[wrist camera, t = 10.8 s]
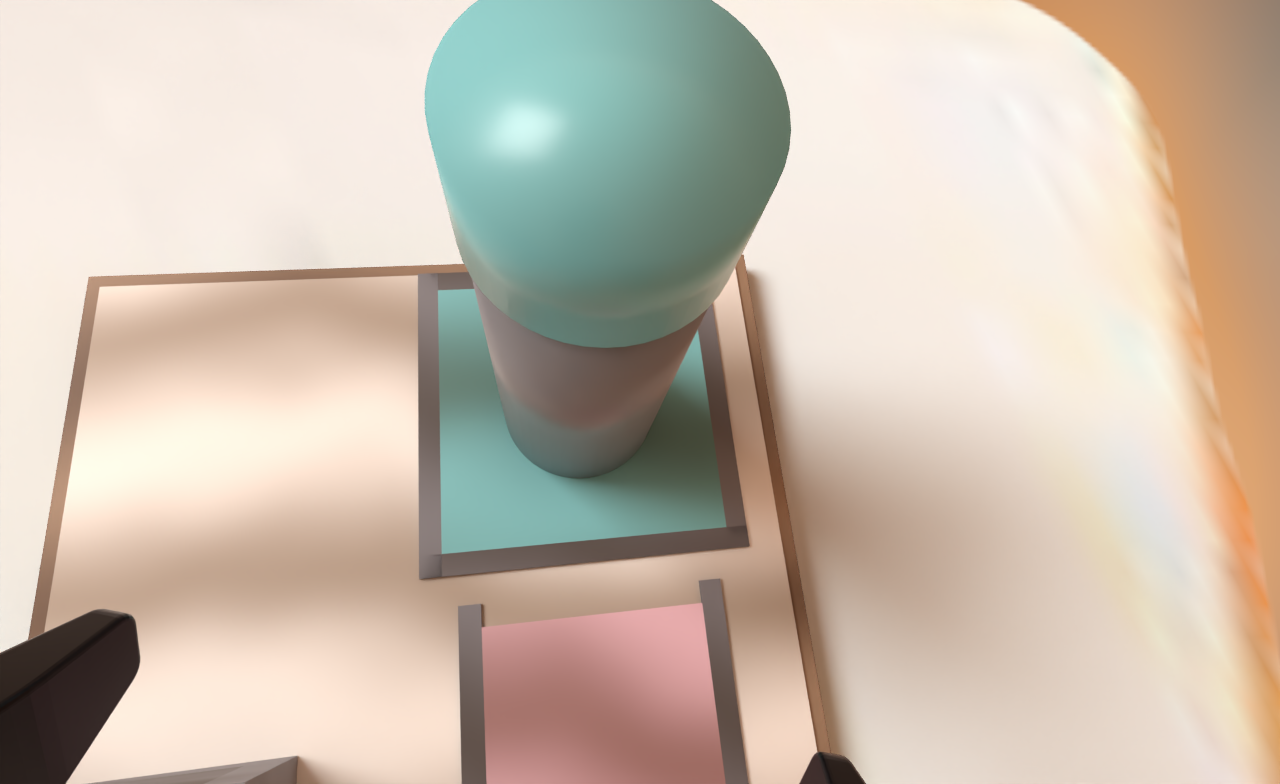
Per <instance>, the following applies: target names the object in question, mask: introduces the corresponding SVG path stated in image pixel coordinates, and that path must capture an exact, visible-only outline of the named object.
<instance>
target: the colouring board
mask: <svg viewBox="0 0 1280 784" xmlns="http://www.w3.org/2000/svg"><path fill="white" fill-rule="evenodd" d="M96 609H109V610H114V611H119V612H124V613H128V614H131V615H132V616H133V617H134V619H135V621H136V626H137V634H138V642H139V650H140V666H139V669H138V672H137V674H136V677H135V678H134V680H133V682H132V683H131V685H130V686H129V688H128V689H127V691H126V693H125V694H124V696H123V697H122V699H121V700H120V702H119V703H118V705H117V706H116V708H115V709H114V711H113V712H112V714H111V715H110V717H109V719H108V720H107V722H106V723H105V725H104V726H103V728H102V729H101V731H100V732H99V734H98V735H97V737H96V738H95V740H94V741H93V743H92V745H91V746H90V748H89V749H88V751H87V752H86V754H85V755H84V757H83V758H82V760H81V761H80V763H79V764H78V766H77V767H76V769H75V771H74V772H73V774H72V775H71V777H70V778H69V780H68V781H67V783H66V784H799V783H800V781H801V779H802V777H803V775H804V773H805V771H806V769H807V767H808V765H809V763H810V761H811V759H812V757H813V755H814V754H815V753H817V752H827V753H831V752H830V746H829V740H828V735H827V729H826V723H825V717H824V712H823V706H822V700H821V695H820V689H819V683H818V677H817V672H816V666H815V660H814V655H813V649H812V643H811V637H810V632H809V626H808V620H807V615H806V609H805V603H804V597H803V592H802V586H801V580H800V575H799V569H798V563H797V557H796V552H795V546H794V540H793V535H792V529H791V523H790V517H789V512H788V506H787V500H786V495H785V489H784V483H783V477H782V472H781V466H780V460H779V455H778V449H777V443H776V437H775V432H774V426H773V420H772V415H771V409H770V403H769V397H768V392H767V386H766V380H765V375H764V369H763V363H762V358H761V352H760V346H759V340H758V335H757V329H756V323H755V318H754V312H753V306H752V300H751V295H750V289H749V283H748V278H747V272H746V266H745V260H744V255H741V257H740V259H739V261H738V263H737V265H736V267H735V268H734V270H733V272H732V274H731V276H730V278H729V280H728V282H727V284H726V285H725V287H724V288H723V290H722V292H721V293H720V295H719V296H718V297H717V298H716V299H715V301H714V302H713V303H712V304H711V305H710V306H709V308H708V309H707V311H706V313H705V316H704V318H703V320H702V322H701V324H700V326H699V328H698V330H697V332H696V334H695V336H694V338H693V340H692V342H691V344H690V347H689V349H688V351H687V353H686V355H685V357H684V359H683V361H682V363H681V365H680V367H679V369H678V371H677V373H676V376H675V378H674V380H673V382H672V384H671V386H670V388H669V390H668V392H667V394H666V396H665V398H664V400H663V402H662V404H661V407H660V409H659V411H658V413H657V415H656V417H655V419H654V421H653V423H652V425H651V427H650V429H649V431H648V433H647V435H646V438H645V440H644V441H643V443H642V445H641V446H640V448H639V449H638V450H637V452H636V453H635V454H634V455H633V456H632V457H631V458H630V459H629V460H628V461H627V462H626V463H624V464H623V465H621V466H620V467H618V468H616V469H614V470H613V471H611V472H608V473H606V474H603V475H600V476H595V477H591V478H568V477H562V476H558V475H555V474H552V473H549V472H547V471H545V470H543V469H541V468H539V467H538V466H536V465H535V464H533V463H532V462H531V461H530V460H528V459H527V458H526V457H525V456H524V455H523V454H522V453H521V451H520V450H519V449H518V448H517V446H516V445H515V443H514V442H513V440H512V438H511V436H510V433H509V431H508V428H507V425H506V420H505V416H504V412H503V408H502V403H501V399H500V395H499V391H498V387H497V382H496V378H495V374H494V370H493V365H492V361H491V357H490V353H489V349H488V344H487V340H486V336H485V332H484V327H483V323H482V319H481V315H480V311H479V306H478V302H477V298H476V294H475V289H474V285H473V281H472V278H471V276H470V274H469V272H468V270H467V268H466V266H465V264H452V265H423V266H393V267H363V268H334V269H304V270H275V271H245V272H216V273H186V274H157V275H127V276H98V277H89V279H88V285H87V291H86V297H85V303H84V309H83V315H82V321H81V327H80V333H79V339H78V345H77V351H76V357H75V363H74V369H73V375H72V381H71V387H70V393H69V399H68V405H67V411H66V417H65V423H64V428H63V434H62V440H61V446H60V452H59V458H58V464H57V470H56V476H55V482H54V488H53V494H52V500H51V506H50V512H49V518H48V524H47V530H46V536H45V542H44V548H43V554H42V560H41V566H40V572H39V578H38V584H37V590H36V596H35V602H34V608H33V614H32V620H31V626H30V632H29V638H28V640H29V639H31V638H33V637H36V636H38V635H40V634H42V633H44V632H46V631H49V630H51V629H53V628H55V627H57V626H59V625H61V624H64V623H66V622H68V621H70V620H72V619H74V618H77V617H79V616H81V615H83V614H85V613H87V612H90V611H93V610H96Z"/></svg>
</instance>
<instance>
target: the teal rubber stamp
mask: <svg viewBox="0 0 1280 784" xmlns="http://www.w3.org/2000/svg"><path fill="white" fill-rule="evenodd" d="M425 115H426V121H427V127H428V132H429V136H430V140H431V144H432V148H433V152H434V156H435V160H436V164H437V168H438V172H439V176H440V180H441V184H442V187H443V191H444V195H445V199H446V203H447V207H448V211H449V215H450V219H451V223H452V227H453V231H454V235H455V238H456V242H457V246H458V249H459V252H460V255H461V257H462V260H463V262H464V264H465V266H466V268H467V270H468V272H469V274H470V276H471V278H472V281H473V285H474V289H475V294H476V298H477V302H478V306H479V311H480V315H481V319H482V323H483V327H484V332H485V336H486V340H487V344H488V349H489V353H490V357H491V361H492V365H493V370H494V374H495V378H496V382H497V387H498V391H499V395H500V399H501V403H502V408H503V412H504V416H505V420H506V425H507V428H508V431H509V433H510V436H511V438H512V440H513V442H514V443H515V445H516V446H517V448H518V449H519V450H520V451H521V453H522V454H523V455H524V456H525V457H526V458H527V459H528V460H530V461H531V462H532V463H533V464H535V465H536V466H538V467H539V468H541V469H543V470H545V471H547V472H549V473H552V474H555V475H558V476H562V477H568V478H591V477H595V476H600V475H603V474H606V473H608V472H611V471H613V470H614V469H616V468H618V467H620V466H621V465H623V464H624V463H626V462H627V461H628V460H629V459H630V458H631V457H632V456H633V455H634V454H635V453H636V452H637V450H638V449H639V448H640V446H641V445H642V443H643V441H644V440H645V438H646V435H647V433H648V431H649V429H650V427H651V425H652V423H653V421H654V419H655V417H656V415H657V413H658V411H659V409H660V407H661V404H662V402H663V400H664V398H665V396H666V394H667V392H668V390H669V388H670V386H671V384H672V382H673V380H674V378H675V376H676V373H677V371H678V369H679V367H680V365H681V363H682V361H683V359H684V357H685V355H686V353H687V351H688V349H689V347H690V344H691V342H692V340H693V338H694V336H695V334H696V332H697V330H698V328H699V326H700V324H701V322H702V320H703V318H704V316H705V313H706V311H707V309H708V308H709V306H710V305H711V304H712V303H713V302H714V301H715V299H716V298H717V297H718V296H719V295H720V293H721V292H722V290H723V288H724V287H725V285H726V284H727V282H728V280H729V278H730V276H731V274H732V272H733V270H734V268H735V267H736V265H737V263H738V261H739V259H740V257H741V255H742V253H743V251H744V249H745V247H746V245H747V243H748V241H749V239H750V237H751V235H752V233H753V231H754V229H755V227H756V225H757V223H758V221H759V219H760V217H761V215H762V213H763V211H764V209H765V207H766V205H767V203H768V201H769V199H770V197H771V195H772V193H773V191H774V189H775V187H776V185H777V183H778V181H779V178H780V176H781V174H782V172H783V169H784V167H785V163H786V159H787V155H788V151H789V145H790V134H791V124H790V110H789V106H788V101H787V97H786V92H785V90H784V87H783V84H782V82H781V79H780V76H779V74H778V72H777V70H776V68H775V66H774V65H773V63H772V61H771V59H770V57H769V56H768V54H767V53H766V52H765V50H764V49H763V47H762V46H761V45H760V43H759V42H758V40H757V39H756V38H755V37H754V36H753V35H752V34H751V33H750V32H749V31H748V30H747V28H746V27H745V26H744V25H743V24H741V23H740V22H739V21H738V20H737V19H736V18H735V17H733V16H732V15H731V14H730V13H729V12H728V11H726V10H725V9H723V8H722V7H721V6H719V5H718V4H716V3H715V2H713V1H712V0H478V1H477V2H475V3H474V4H473V5H471V6H470V7H469V8H468V9H467V10H466V11H465V12H464V13H463V14H462V15H461V16H460V17H459V18H458V19H457V20H456V21H455V22H454V23H453V25H452V26H451V27H450V29H449V30H448V31H447V33H446V34H445V35H444V37H443V38H442V40H441V42H440V44H439V46H438V48H437V50H436V52H435V54H434V56H433V59H432V62H431V65H430V68H429V71H428V75H427V81H426V88H425Z"/></svg>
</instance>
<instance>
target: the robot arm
mask: <svg viewBox="0 0 1280 784" xmlns="http://www.w3.org/2000/svg"><path fill="white" fill-rule="evenodd" d="M139 666H140V650H139V642H138V634H137V626H136V621H135V619H134V617H133V616H132V615H131V614H128V613H124V612H119V611H114V610H109V609H96V610H93V611H90V612H87V613H85V614H83V615H81V616H79V617H77V618H74V619H72V620H70V621H68V622H66V623H64V624H61V625H59V626H57V627H55V628H53V629H51V630H49V631H46V632H44V633H42V634H40V635H38V636H36V637H33V638H31V639H29V640H27V641H25V642H23V643H20V644H18V645H16V646H14V647H12V648H10V649H7V650H5V651H3V652H1V653H0V784H66V783H67V781H68V780H69V778H70V777H71V775H72V774H73V772H74V771H75V769H76V767H77V766H78V764H79V763H80V761H81V760H82V758H83V757H84V755H85V754H86V752H87V751H88V749H89V748H90V746H91V745H92V743H93V741H94V740H95V738H96V737H97V735H98V734H99V732H100V731H101V729H102V728H103V726H104V725H105V723H106V722H107V720H108V719H109V717H110V715H111V714H112V712H113V711H114V709H115V708H116V706H117V705H118V703H119V702H120V700H121V699H122V697H123V696H124V694H125V693H126V691H127V689H128V688H129V686H130V685H131V683H132V682H133V680H134V678H135V677H136V674H137V672H138V669H139ZM799 784H866V783H865V782H864V780H863V779H862V777H861V776H860V774H859V773H858V771H857V770H856V768H855V767H854V766H853V764H852V763H851V762H850V761H849V760H848V759H847V758H846V757H844V756H841V755H837V754H832V753H827V752H817V753H815V754H814V755H813V757H812V759H811V761H810V763H809V765H808V767H807V769H806V771H805V773H804V775H803V777H802V779H801V781H800V783H799Z"/></svg>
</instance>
